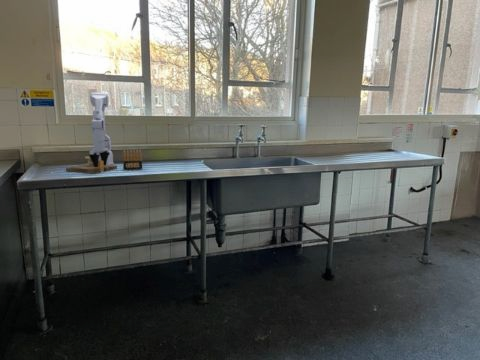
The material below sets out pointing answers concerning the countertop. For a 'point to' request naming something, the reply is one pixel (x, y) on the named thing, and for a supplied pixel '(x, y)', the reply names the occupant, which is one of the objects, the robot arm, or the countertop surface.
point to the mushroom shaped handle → (89, 161)
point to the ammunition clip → (132, 160)
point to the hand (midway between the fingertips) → (100, 165)
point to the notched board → (90, 168)
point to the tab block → (100, 165)
